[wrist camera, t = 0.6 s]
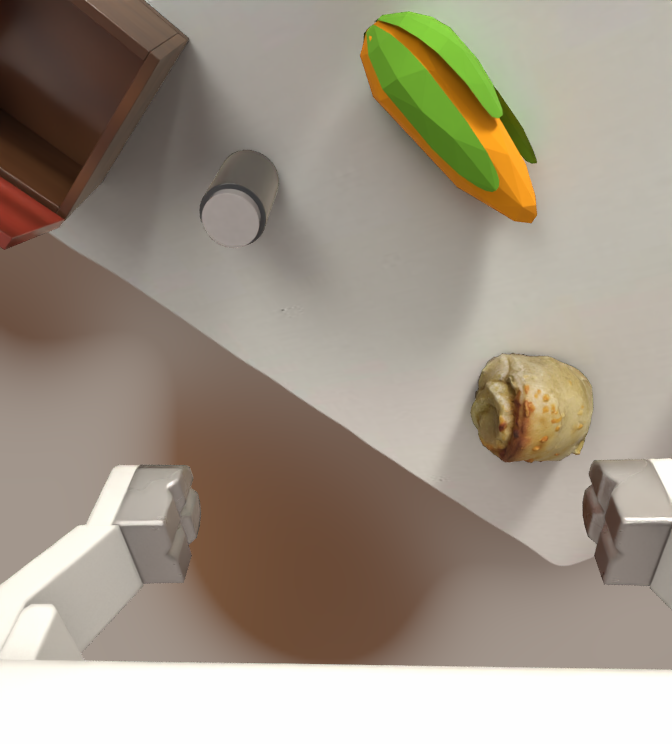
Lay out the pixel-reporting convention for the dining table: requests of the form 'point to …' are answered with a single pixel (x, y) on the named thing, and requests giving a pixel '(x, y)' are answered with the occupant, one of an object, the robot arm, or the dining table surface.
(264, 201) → the cylinder
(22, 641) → the robot arm
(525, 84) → the dining table surface
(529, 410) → the pastry
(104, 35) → the chest
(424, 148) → the corn
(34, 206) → the lid
